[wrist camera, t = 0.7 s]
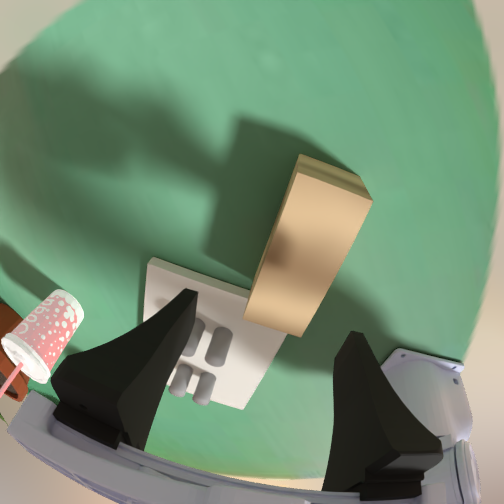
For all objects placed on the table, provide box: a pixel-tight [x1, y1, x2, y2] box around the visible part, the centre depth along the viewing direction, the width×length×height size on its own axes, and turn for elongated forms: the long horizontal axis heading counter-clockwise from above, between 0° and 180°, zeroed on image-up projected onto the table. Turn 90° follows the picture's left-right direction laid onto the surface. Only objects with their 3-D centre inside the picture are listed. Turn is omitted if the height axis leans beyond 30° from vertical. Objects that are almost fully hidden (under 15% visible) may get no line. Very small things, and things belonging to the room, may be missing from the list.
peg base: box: [143, 257, 288, 410], centre depth 26 cm, size 12×16×4 cm
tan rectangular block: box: [242, 153, 373, 337], centre depth 19 cm, size 10×4×4 cm, turn 164°
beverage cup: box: [0, 289, 84, 398], centre depth 23 cm, size 6×6×14 cm
